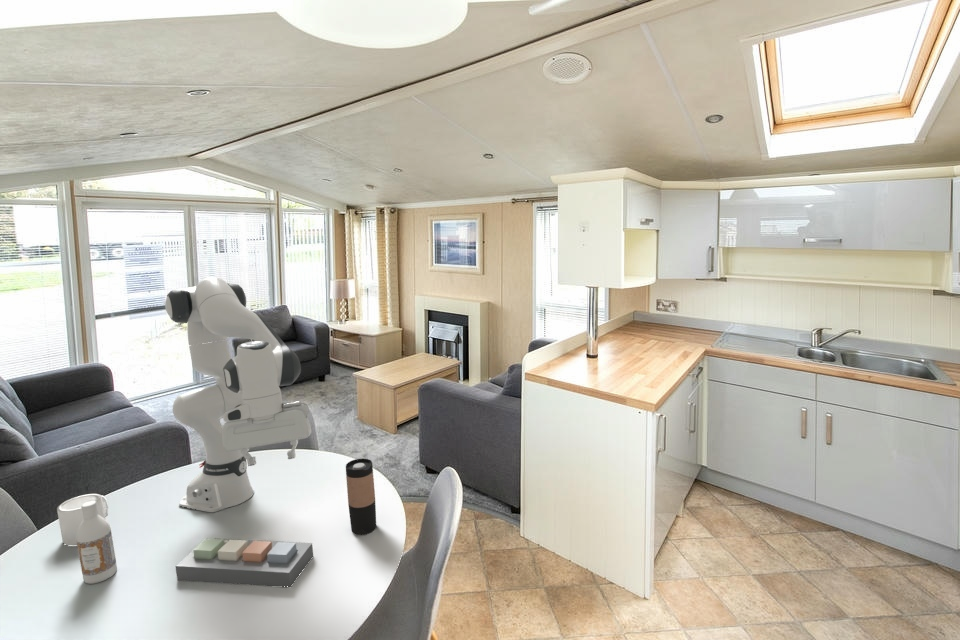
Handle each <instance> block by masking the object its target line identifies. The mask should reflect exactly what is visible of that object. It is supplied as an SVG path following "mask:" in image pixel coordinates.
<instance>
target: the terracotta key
mask: <svg viewBox="0 0 960 640" xmlns="http://www.w3.org/2000/svg"><path fill="white" fill-rule="evenodd" d="M268 541H269V540H261V541H253V542H252V543H251V544H250V545H249V546H248V547H247V548H246V549H245V550H244V551H243V552H242V555H243V561H246V562H263V561H264V559H265V558H266V557H267V554H268V553H269V551H270V550H271V549H272V542H268Z"/></svg>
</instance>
